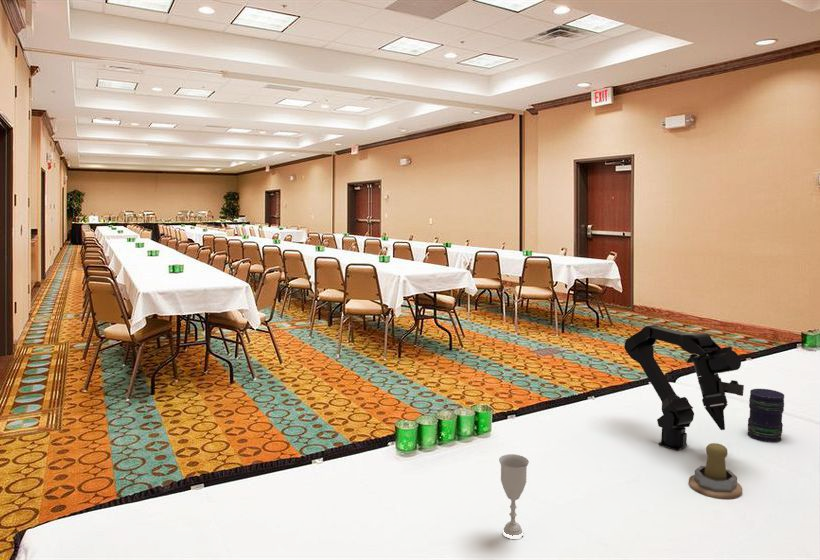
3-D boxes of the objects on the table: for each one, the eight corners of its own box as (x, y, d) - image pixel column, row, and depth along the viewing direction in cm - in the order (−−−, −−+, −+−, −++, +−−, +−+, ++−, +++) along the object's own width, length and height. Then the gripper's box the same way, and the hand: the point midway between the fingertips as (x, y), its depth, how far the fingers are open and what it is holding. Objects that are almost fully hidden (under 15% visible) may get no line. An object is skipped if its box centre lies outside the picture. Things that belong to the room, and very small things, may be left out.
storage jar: (782, 435, 200) (785, 391, 198) (781, 445, 191) (784, 399, 190) (748, 429, 205) (750, 386, 203) (745, 438, 197) (748, 394, 195)
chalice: (495, 526, 144) (495, 454, 142) (522, 524, 145) (523, 453, 143) (502, 543, 137) (503, 468, 135) (531, 541, 138) (532, 466, 135)
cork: (726, 490, 159) (728, 451, 158) (700, 485, 162) (703, 446, 161) (728, 482, 164) (730, 443, 163) (704, 476, 167) (706, 439, 166)
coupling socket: (680, 486, 164) (680, 472, 163) (700, 472, 172) (701, 459, 172) (730, 504, 154) (731, 489, 154) (749, 488, 163) (750, 474, 162)
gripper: (738, 369, 167) (755, 426, 163) (736, 370, 183) (751, 422, 179) (695, 377, 171) (711, 432, 167) (697, 377, 188) (711, 428, 184)
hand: (722, 428), depth 174 cm, fingers open, 9 cm apart
